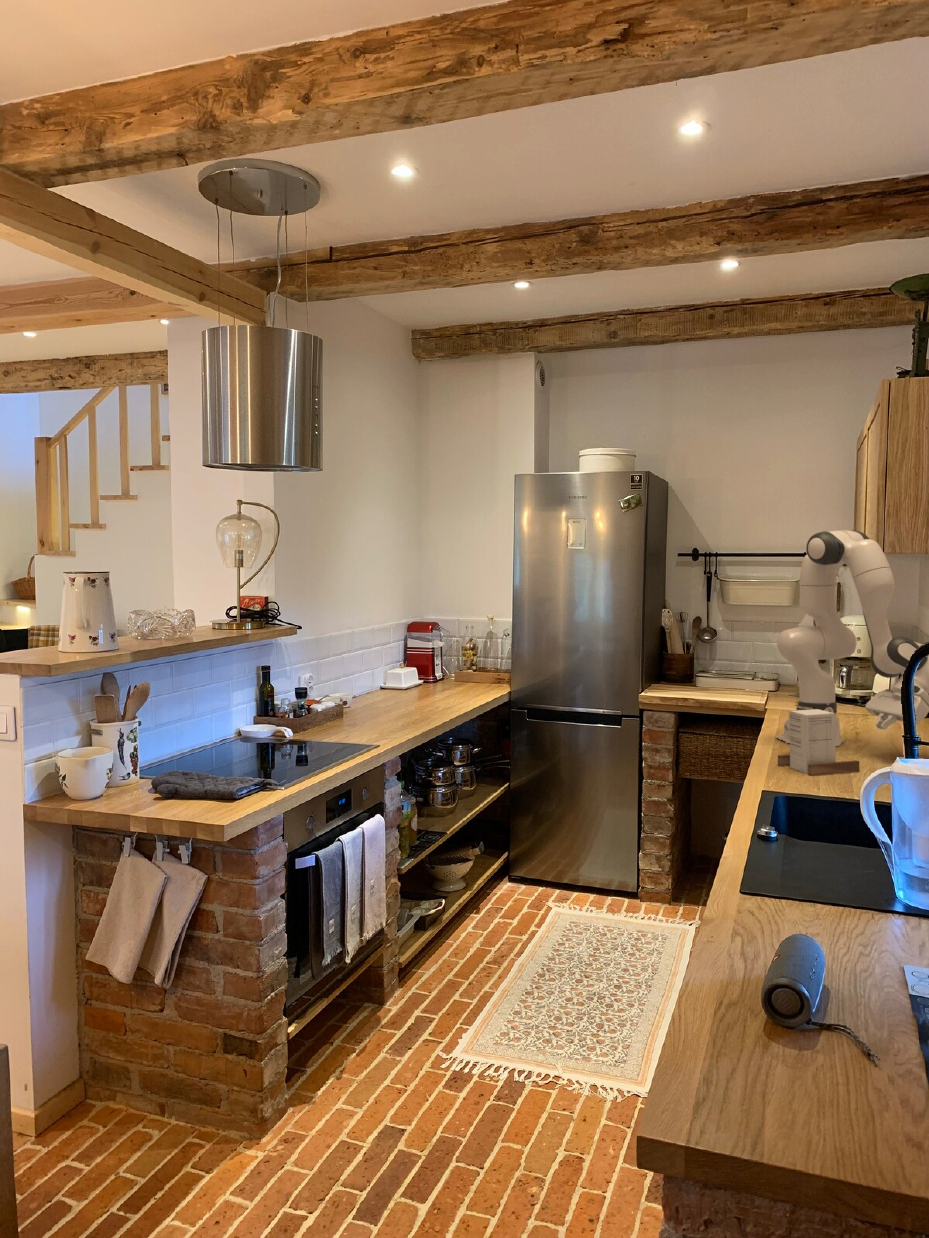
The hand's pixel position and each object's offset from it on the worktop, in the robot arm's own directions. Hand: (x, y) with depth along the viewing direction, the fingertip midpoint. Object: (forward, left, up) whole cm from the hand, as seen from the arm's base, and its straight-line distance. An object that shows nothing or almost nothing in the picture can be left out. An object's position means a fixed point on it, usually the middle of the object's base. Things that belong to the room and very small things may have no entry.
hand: (879, 727), depth 265 cm
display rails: (+1, -22, -10) cm, 24 cm away
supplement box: (+1, -24, -11) cm, 26 cm away
